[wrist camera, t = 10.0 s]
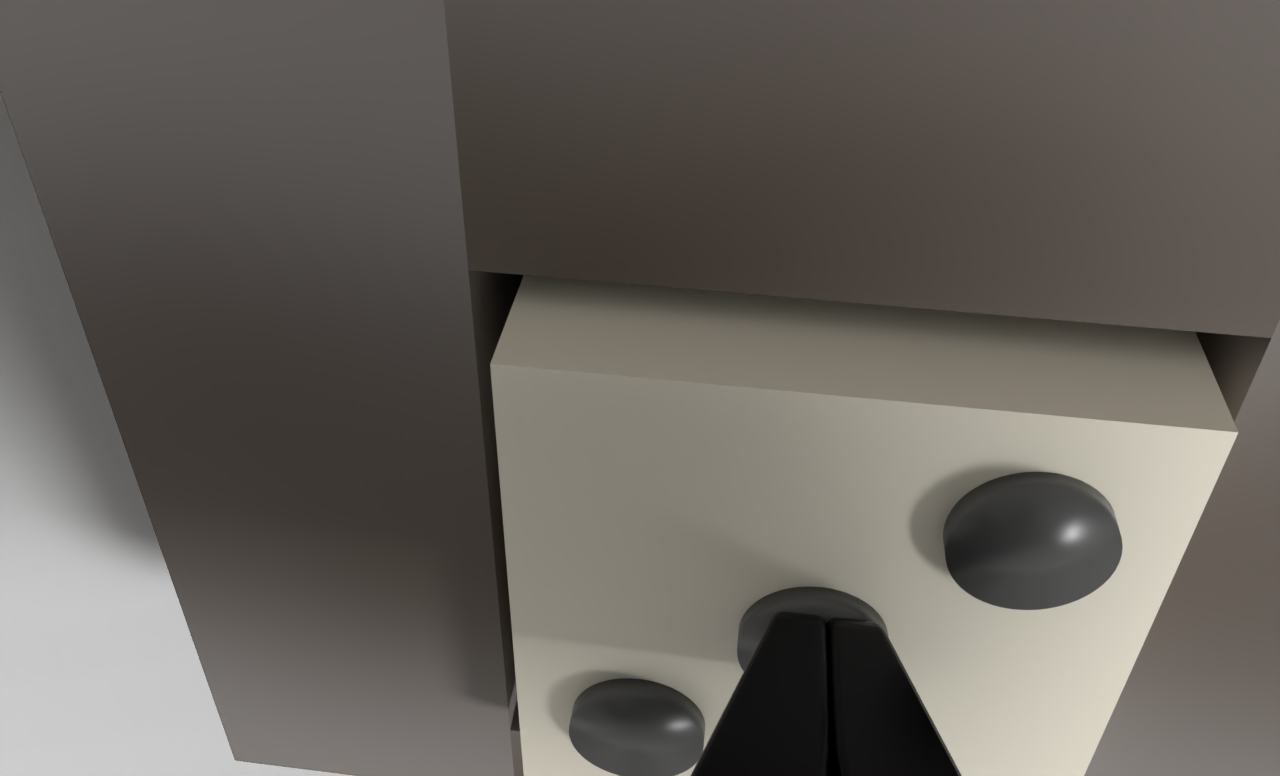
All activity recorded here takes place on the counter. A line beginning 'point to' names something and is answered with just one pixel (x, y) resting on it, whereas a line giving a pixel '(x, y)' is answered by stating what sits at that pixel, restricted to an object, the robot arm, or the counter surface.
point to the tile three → (836, 510)
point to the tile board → (620, 253)
